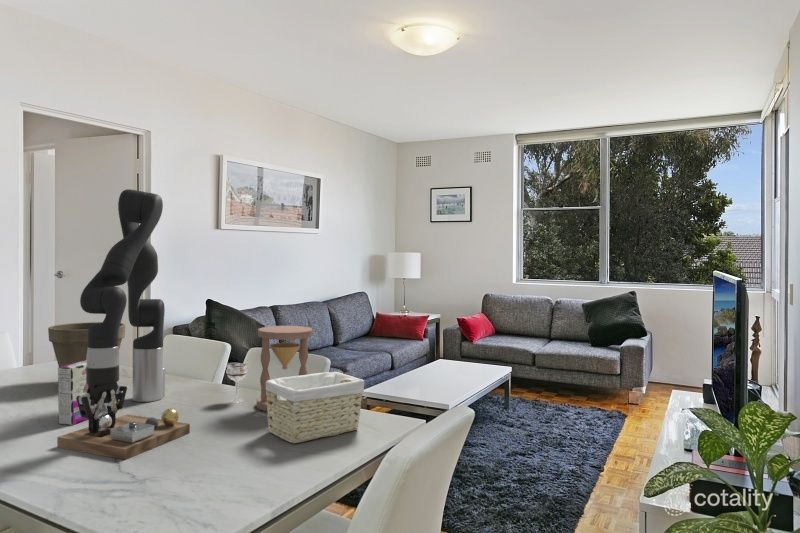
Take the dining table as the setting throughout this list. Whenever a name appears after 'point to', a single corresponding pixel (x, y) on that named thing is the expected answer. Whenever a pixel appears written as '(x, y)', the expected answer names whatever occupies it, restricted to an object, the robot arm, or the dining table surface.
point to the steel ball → (104, 421)
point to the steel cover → (132, 432)
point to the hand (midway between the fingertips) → (102, 430)
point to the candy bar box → (71, 392)
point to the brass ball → (170, 417)
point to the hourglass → (281, 352)
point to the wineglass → (236, 376)
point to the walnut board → (121, 449)
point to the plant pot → (73, 341)
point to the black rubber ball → (152, 421)
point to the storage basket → (313, 405)
